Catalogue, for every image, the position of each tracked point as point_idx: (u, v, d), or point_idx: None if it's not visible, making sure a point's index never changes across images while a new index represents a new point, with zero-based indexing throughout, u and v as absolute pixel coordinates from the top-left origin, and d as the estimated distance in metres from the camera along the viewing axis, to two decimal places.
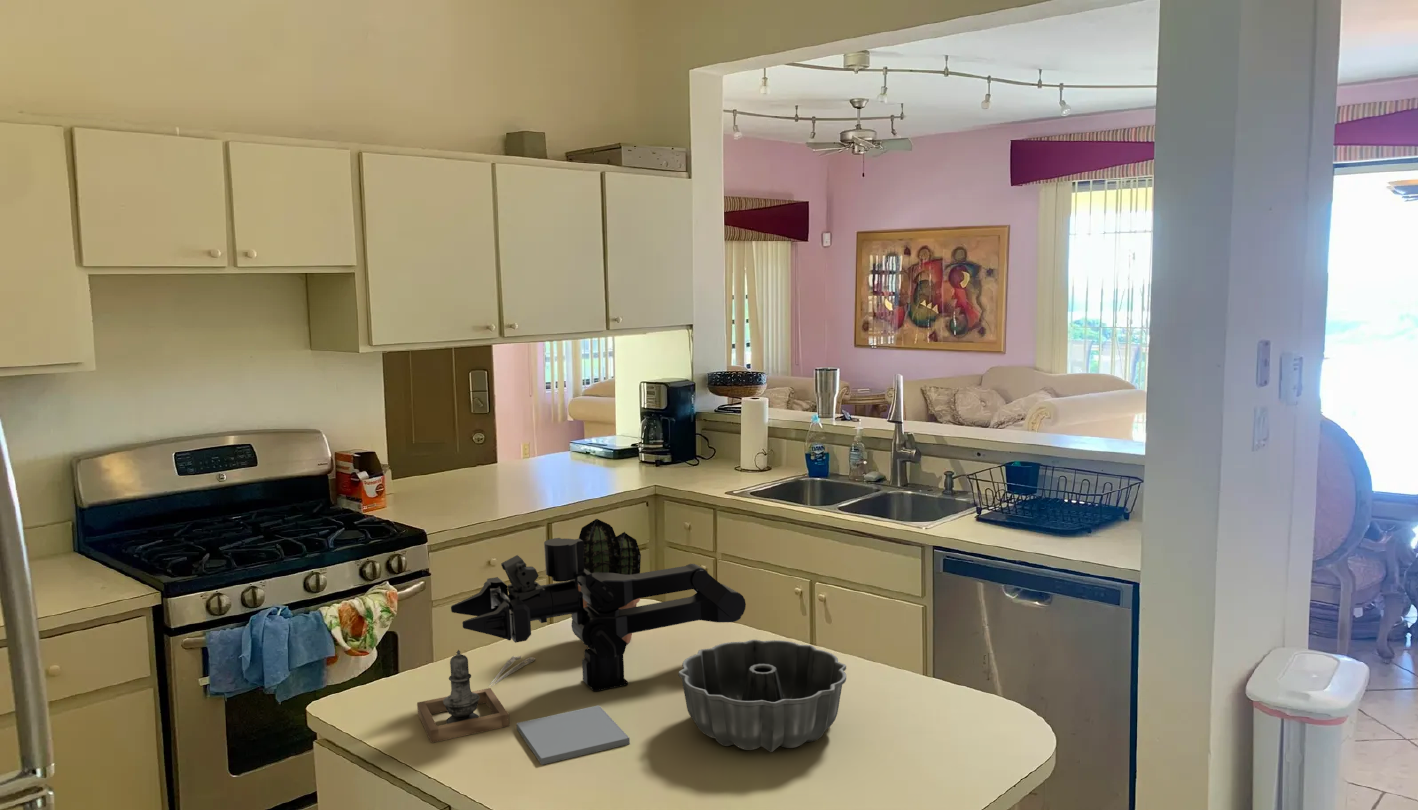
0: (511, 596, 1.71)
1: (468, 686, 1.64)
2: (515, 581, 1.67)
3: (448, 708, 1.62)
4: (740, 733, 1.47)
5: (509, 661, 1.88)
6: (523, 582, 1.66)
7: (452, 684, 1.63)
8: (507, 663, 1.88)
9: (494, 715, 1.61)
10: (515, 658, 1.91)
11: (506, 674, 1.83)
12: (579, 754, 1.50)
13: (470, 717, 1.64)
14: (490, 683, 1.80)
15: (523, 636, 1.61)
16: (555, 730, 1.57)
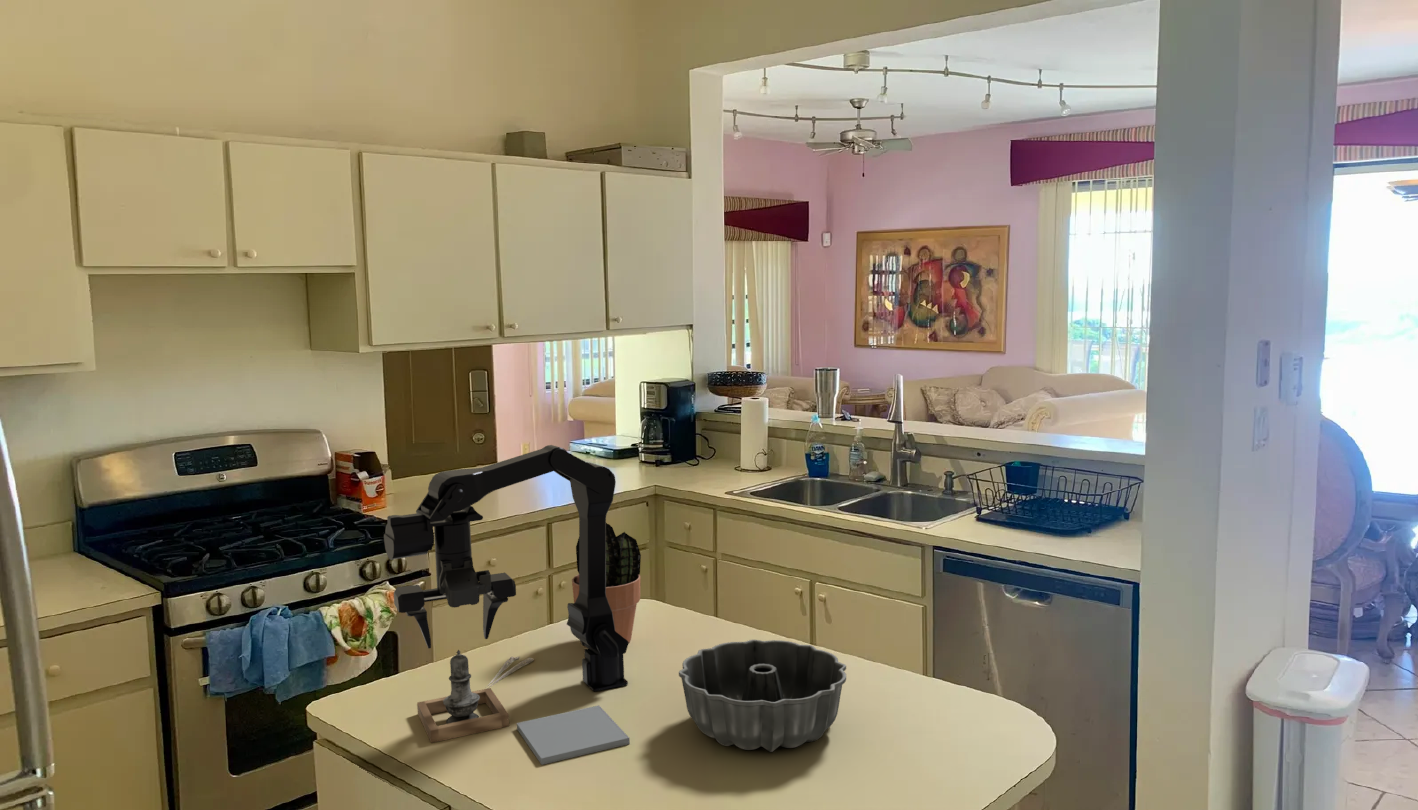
0: None
1: (468, 686, 1.64)
2: None
3: (448, 708, 1.62)
4: (740, 733, 1.47)
5: (507, 662, 1.88)
6: None
7: (452, 684, 1.63)
8: (505, 664, 1.87)
9: (494, 715, 1.61)
10: (513, 659, 1.91)
11: (504, 675, 1.83)
12: (579, 754, 1.50)
13: (470, 717, 1.64)
14: None
15: None
16: (555, 730, 1.57)
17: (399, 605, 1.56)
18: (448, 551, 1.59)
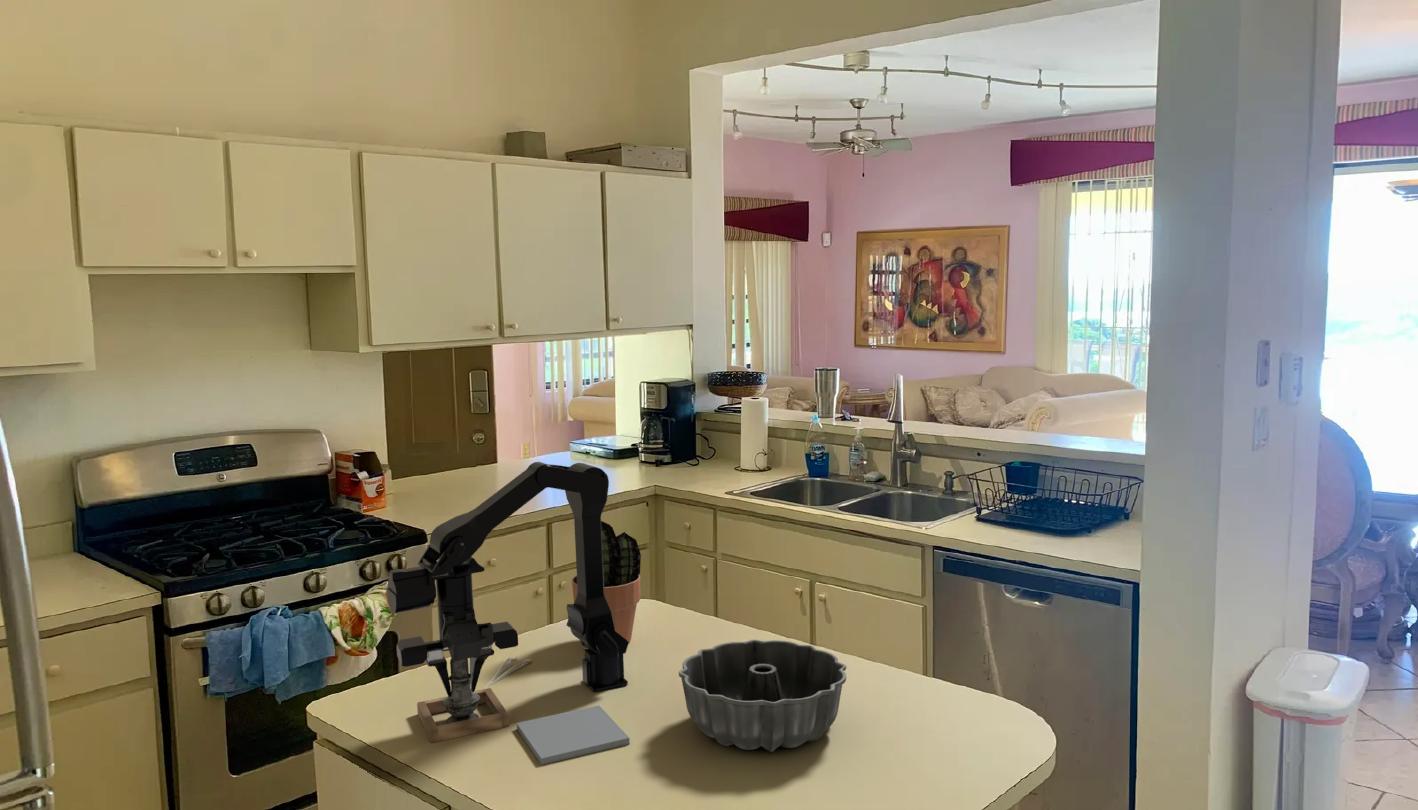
0: None
1: (468, 686, 1.64)
2: None
3: (448, 708, 1.62)
4: (740, 733, 1.47)
5: (505, 663, 1.88)
6: None
7: (452, 684, 1.63)
8: (503, 665, 1.87)
9: (494, 715, 1.61)
10: (511, 660, 1.90)
11: (502, 676, 1.82)
12: (579, 754, 1.50)
13: (470, 717, 1.64)
14: (486, 685, 1.79)
15: None
16: (555, 730, 1.57)
17: (402, 659, 1.57)
18: (450, 604, 1.60)
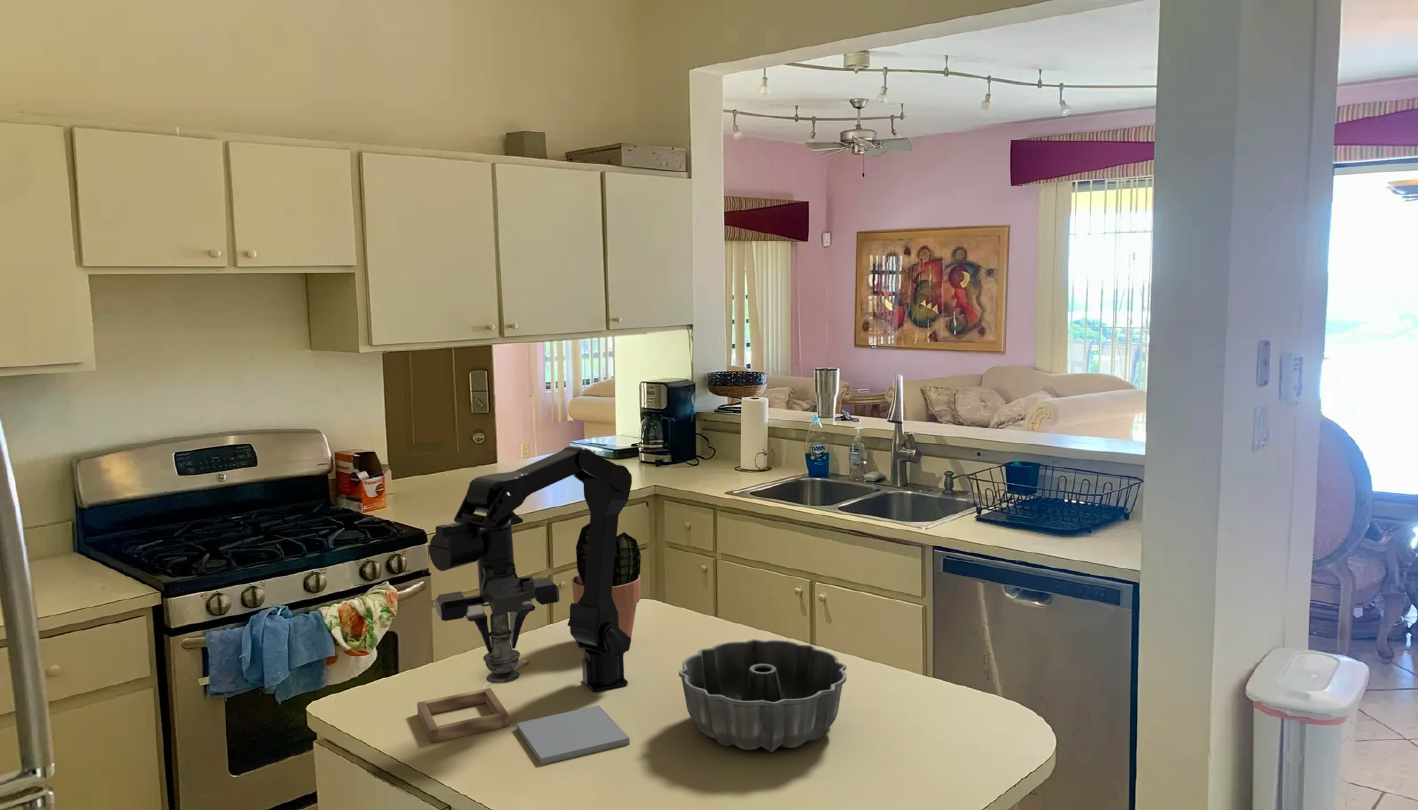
0: None
1: (508, 642, 1.60)
2: None
3: (488, 664, 1.59)
4: (740, 733, 1.47)
5: None
6: None
7: (492, 640, 1.59)
8: None
9: (494, 715, 1.61)
10: None
11: None
12: (579, 754, 1.50)
13: (511, 674, 1.61)
14: (483, 686, 1.78)
15: None
16: (555, 730, 1.57)
17: (442, 613, 1.53)
18: (496, 557, 1.56)
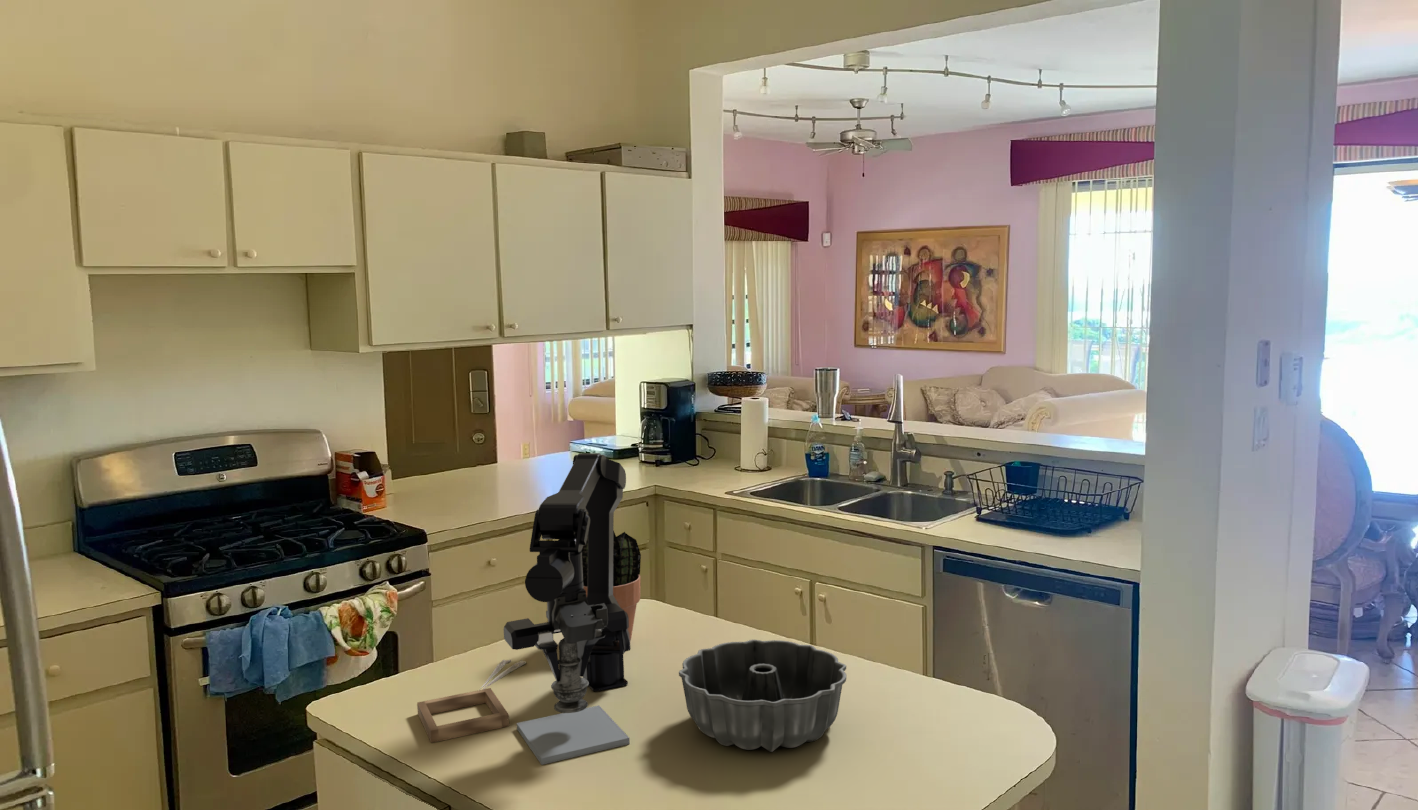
0: None
1: (577, 670, 1.56)
2: None
3: (557, 693, 1.54)
4: (740, 733, 1.47)
5: (500, 665, 1.87)
6: None
7: (561, 668, 1.55)
8: (498, 667, 1.86)
9: (494, 715, 1.61)
10: (505, 662, 1.89)
11: (497, 678, 1.81)
12: (579, 754, 1.50)
13: (579, 703, 1.56)
14: (481, 687, 1.78)
15: None
16: (555, 730, 1.57)
17: (513, 642, 1.49)
18: (576, 581, 1.53)
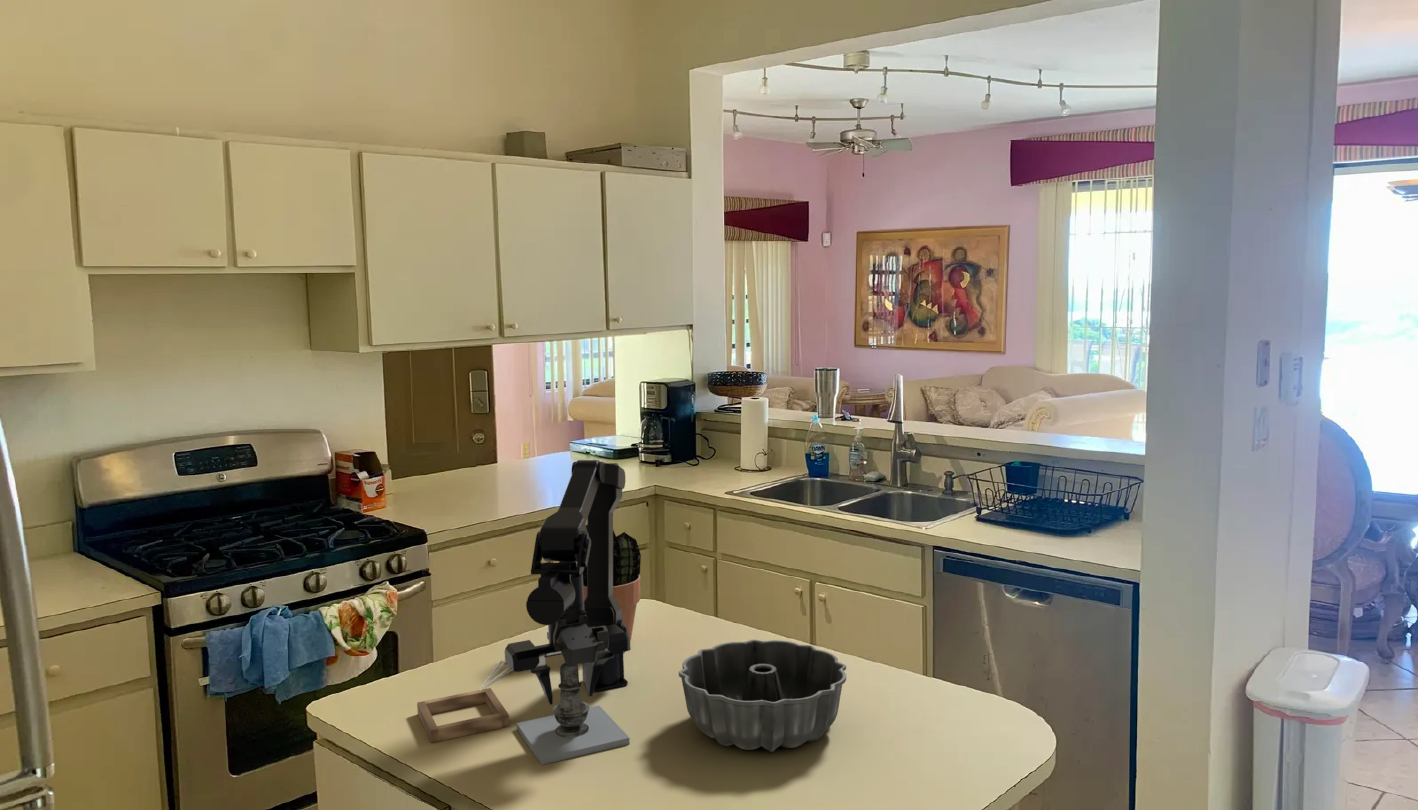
0: None
1: (578, 695, 1.56)
2: None
3: (558, 718, 1.55)
4: (740, 733, 1.47)
5: (498, 665, 1.86)
6: None
7: (562, 692, 1.55)
8: (496, 668, 1.85)
9: (494, 715, 1.61)
10: (504, 662, 1.89)
11: (495, 679, 1.81)
12: (579, 754, 1.50)
13: (580, 727, 1.57)
14: (479, 688, 1.77)
15: None
16: None
17: (514, 664, 1.49)
18: (577, 603, 1.53)
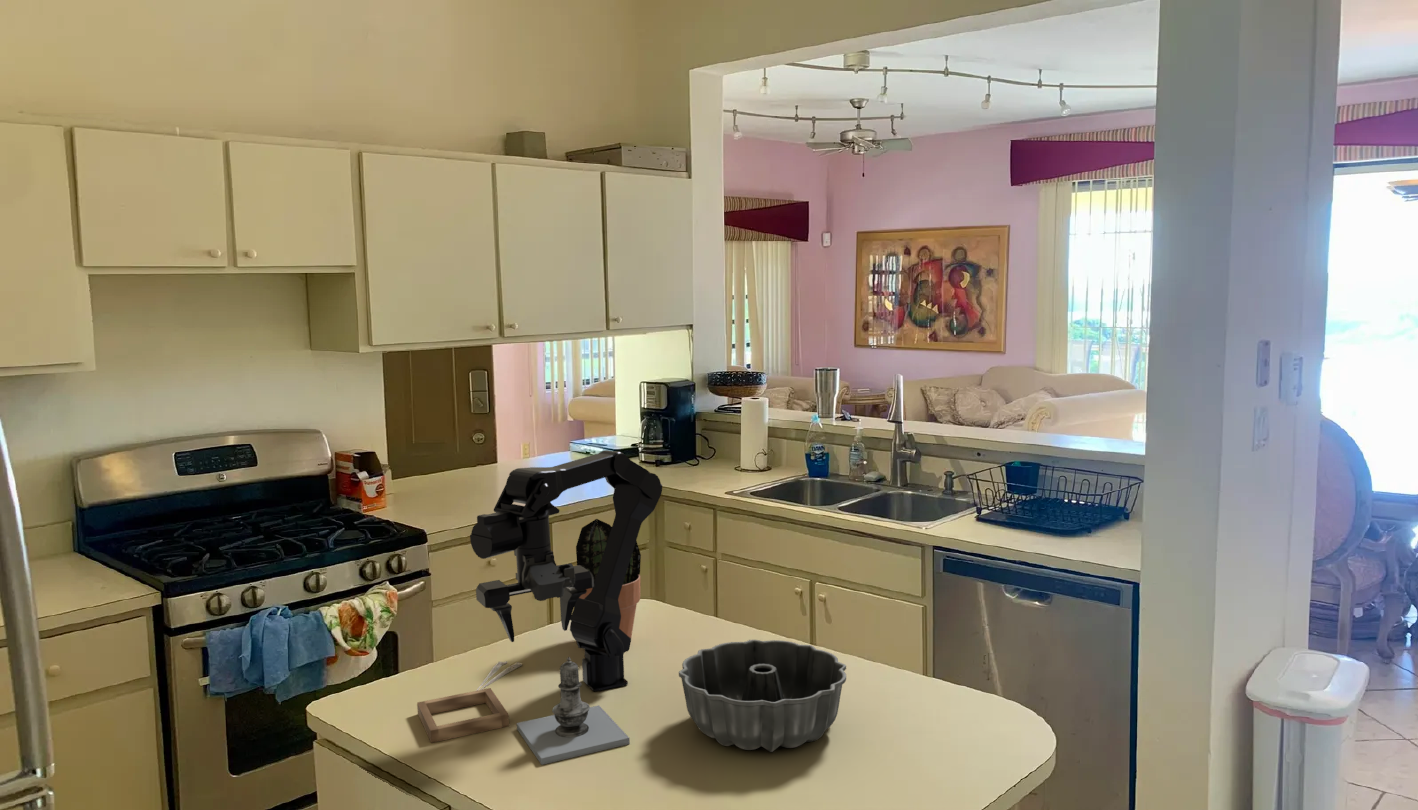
0: None
1: (578, 695, 1.56)
2: None
3: (558, 718, 1.55)
4: (740, 733, 1.47)
5: (495, 666, 1.86)
6: None
7: (562, 692, 1.55)
8: (493, 668, 1.85)
9: (494, 715, 1.61)
10: (501, 663, 1.89)
11: (493, 680, 1.80)
12: (579, 754, 1.50)
13: (580, 727, 1.57)
14: None
15: None
16: None
17: (486, 600, 1.59)
18: (534, 546, 1.62)
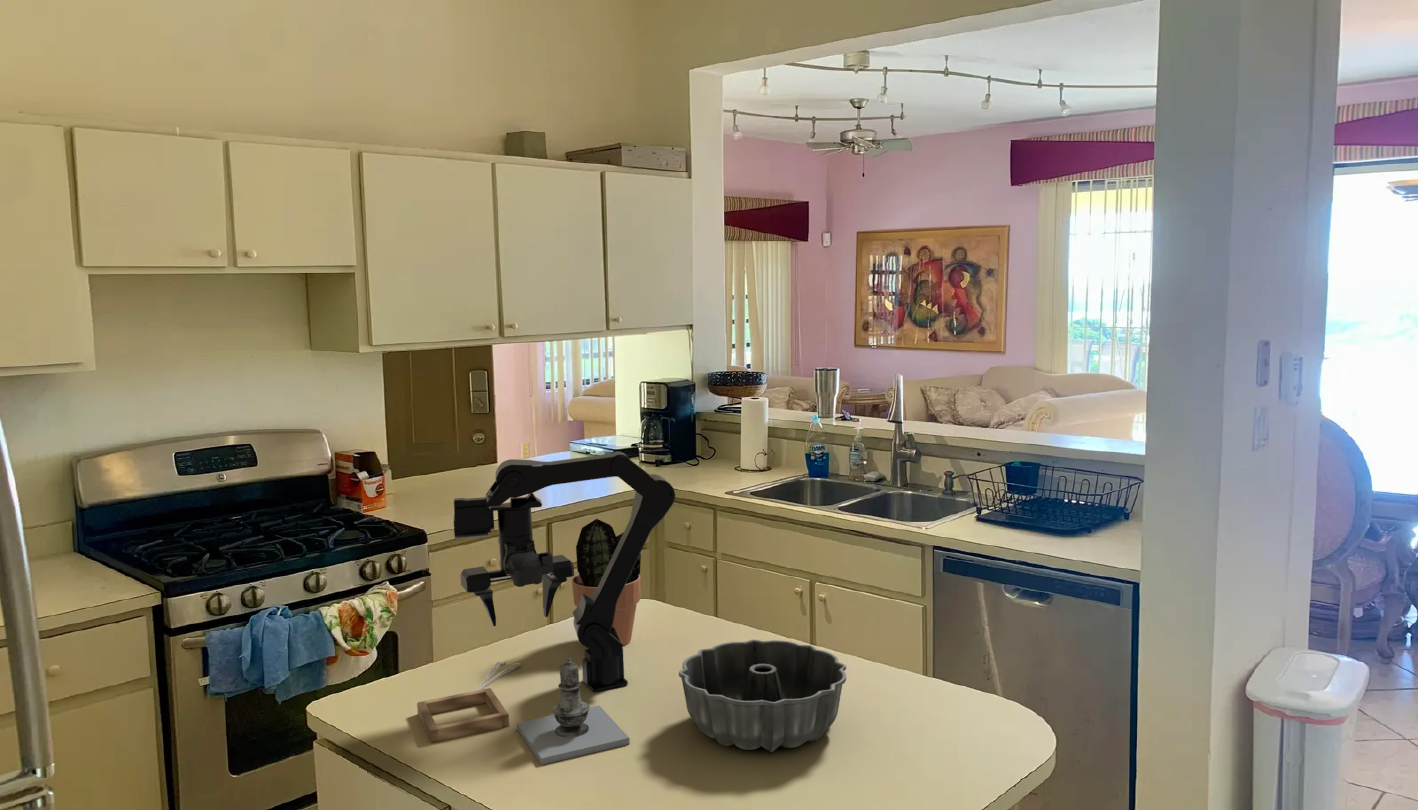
0: None
1: (578, 695, 1.56)
2: None
3: (558, 718, 1.55)
4: (740, 733, 1.47)
5: (494, 667, 1.85)
6: None
7: (562, 692, 1.55)
8: (492, 669, 1.85)
9: (494, 715, 1.61)
10: (500, 664, 1.88)
11: (491, 680, 1.80)
12: (579, 754, 1.50)
13: (580, 727, 1.57)
14: (475, 690, 1.77)
15: None
16: None
17: (467, 585, 1.66)
18: (506, 534, 1.69)
